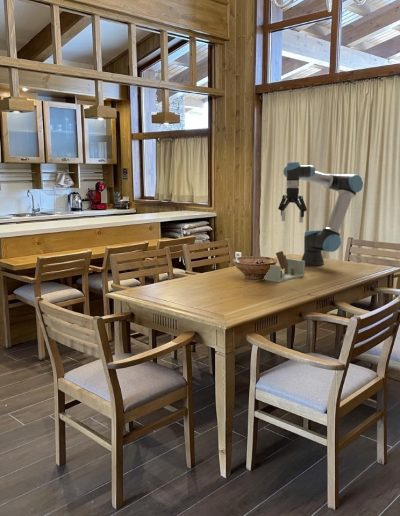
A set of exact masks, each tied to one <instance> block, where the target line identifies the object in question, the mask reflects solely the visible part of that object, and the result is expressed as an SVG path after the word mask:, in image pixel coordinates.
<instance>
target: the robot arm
mask: <svg viewBox="0 0 400 516" xmlns="http://www.w3.org/2000/svg"><path fill="white" fill-rule="evenodd" d="M283 176H284V177H286V194H284V195H283V194H282V199H281V200H280V201H281V202H279V206H278V207H277V209H278V210H279V211H280V217H281V222H285V221H286V208H287V207H288V206H289V204H290V203H291V204H292V203H294V204H295V205H296V207H297V208H298V210H299V218H298V219H299V220H298V222H299V223H303V222H304V217H305V212H307V210H308V208H307V206H306V204H305V200H304V196H303V195H299V193H300V192H299V191H300V188H299V187H300V180H302V181H305V182H308V183H312V184H316V185H320V186H323V187H324V188H326V189H330V190H332V191H336V192H338V196H337V198H336V201H335V203H334V206H333V209H332V211H331V213H330V216H329V219H328V222H327V224H326V227H323V228H322V229H317V230H315V229H314V230H305V232H304V237H303V238H304V239H303V241H304V245H303V254H302V257H301V260H302V261H305V266H323V265H324V264H325V260H324V256H323V254H322V251H324V252H326V253H328V252H330V253H333V252H336V251H338V249H339V248H340V247H341V244H342V240H341V237H340V236H341V233H340V229H341V227H342V225H343V222H344V219H345V218H346V217H345V216H346V214H347V211H348V209H349V206H350V204H351V202H352V199H353V198H355V197H356V194H357V193H360V192H361V191H362V190H363V188H364V187H363V186H364V182H363V178H362V177H361V176H360V175H359V174H357V173H356V174H355V173H349V174H348V173H344V174H343V173H340V174H339V173H338V174H337V173H336V174H332V173H323V172H319V171H316V168H315V166H314V165H312V164H308V165H307V164H305V165H301V164H300V162H299V161H289V162H287V164H286V166H285V167H284V168H283Z"/></svg>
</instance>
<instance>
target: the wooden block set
mask: <svg viewBox="0 0 400 516" xmlns="http://www.w3.org/2000/svg"><path fill="white" fill-rule="evenodd" d="M275 255H276V259H277V261H278V263H279V264H278V265H279V266H281V270H285V268H287V267H288V261H287V258H288V257H287V256H286V254H284V251H283V250H281V251H279V252H276V253H275Z"/></svg>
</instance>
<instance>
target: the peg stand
mask: <svg viewBox="0 0 400 516" xmlns="http://www.w3.org/2000/svg"><path fill="white" fill-rule="evenodd" d="M286 258H287V261H288V267H287V268H284V269H283V270H284V271H283V270H282V269H281V266H280V265H276V264H275V265H270V269H269V270H268V272H267V273H266V275H265V276H264V279H265V281H270V282H274V283H275V282H276V283H281V282H285V281H290V280H293V279H297V278H301V276H302V277H304V276H306V275H305V274H306V273H305V270H306V267H305V266H306V265H305V261H302V259H293V258H288V257H286ZM264 279H263V280H264Z"/></svg>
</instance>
